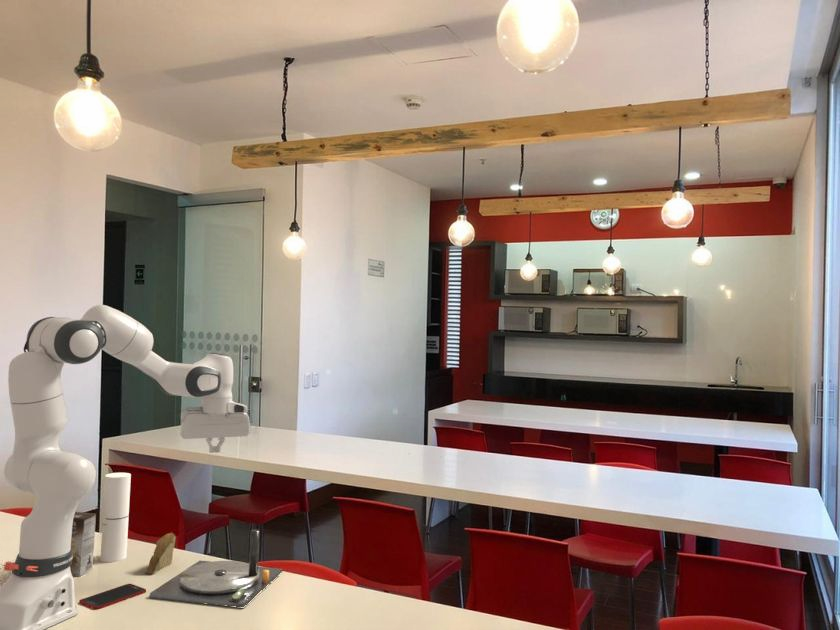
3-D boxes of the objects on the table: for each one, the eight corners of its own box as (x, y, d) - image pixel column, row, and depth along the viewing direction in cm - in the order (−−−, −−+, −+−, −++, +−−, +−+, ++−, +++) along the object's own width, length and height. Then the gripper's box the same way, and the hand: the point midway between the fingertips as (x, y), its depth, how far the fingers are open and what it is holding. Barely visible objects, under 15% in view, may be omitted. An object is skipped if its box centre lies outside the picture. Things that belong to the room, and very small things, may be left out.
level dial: (180, 597, 167) (182, 544, 168) (179, 569, 187) (181, 521, 187) (263, 589, 175) (266, 538, 175) (254, 563, 194) (256, 517, 195)
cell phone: (77, 604, 165) (77, 600, 165) (129, 586, 178) (129, 582, 178) (95, 611, 161) (96, 607, 161) (147, 593, 174) (147, 589, 174)
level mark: (267, 583, 180) (267, 572, 180) (260, 582, 180) (261, 571, 180) (269, 581, 182) (270, 570, 182) (263, 580, 182) (264, 569, 182)
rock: (155, 570, 184) (185, 556, 192) (142, 542, 186) (173, 530, 194) (139, 585, 189) (170, 571, 197) (127, 558, 192) (158, 545, 200)
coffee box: (49, 574, 184) (52, 516, 184) (64, 566, 190) (67, 510, 190) (80, 576, 183) (83, 518, 183) (93, 568, 189) (97, 512, 190)
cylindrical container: (116, 563, 194) (120, 478, 195) (95, 560, 196) (99, 476, 196) (131, 555, 201) (135, 473, 202) (110, 553, 203) (115, 471, 203)
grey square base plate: (243, 608, 166) (244, 597, 166) (149, 597, 170) (150, 586, 170) (282, 573, 191) (282, 563, 192) (199, 564, 196) (200, 554, 196)
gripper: (183, 408, 191) (180, 456, 191) (252, 407, 201) (250, 452, 201) (179, 406, 197) (176, 452, 196) (246, 404, 207) (244, 448, 206)
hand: (214, 452), depth 199 cm, fingers closed
